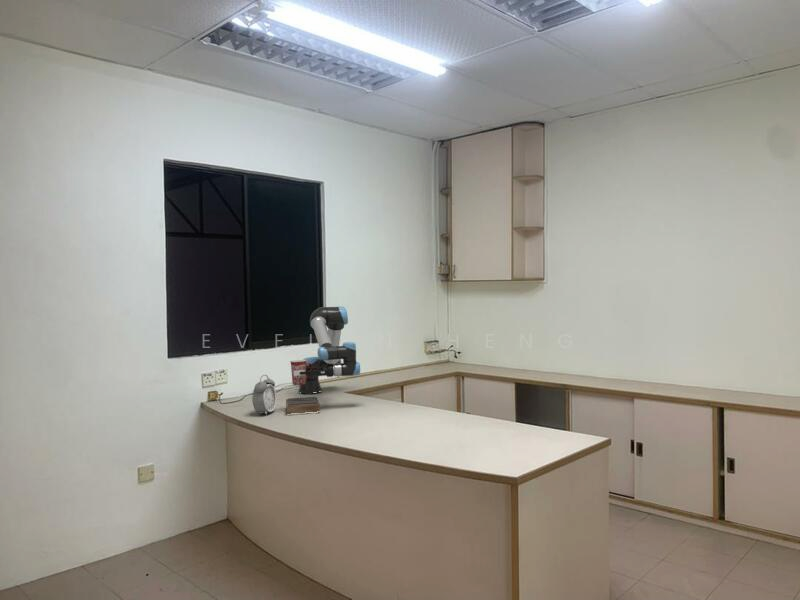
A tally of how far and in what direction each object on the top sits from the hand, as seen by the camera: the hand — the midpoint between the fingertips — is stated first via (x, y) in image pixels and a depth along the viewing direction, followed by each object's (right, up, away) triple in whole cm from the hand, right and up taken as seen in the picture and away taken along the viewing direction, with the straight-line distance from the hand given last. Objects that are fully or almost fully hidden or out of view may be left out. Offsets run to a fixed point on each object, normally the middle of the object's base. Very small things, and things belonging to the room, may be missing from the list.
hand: (293, 372), depth 316 cm
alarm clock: (-15, -23, -4) cm, 28 cm away
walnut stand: (+5, -22, +2) cm, 23 cm away
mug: (+5, -7, +2) cm, 9 cm away
